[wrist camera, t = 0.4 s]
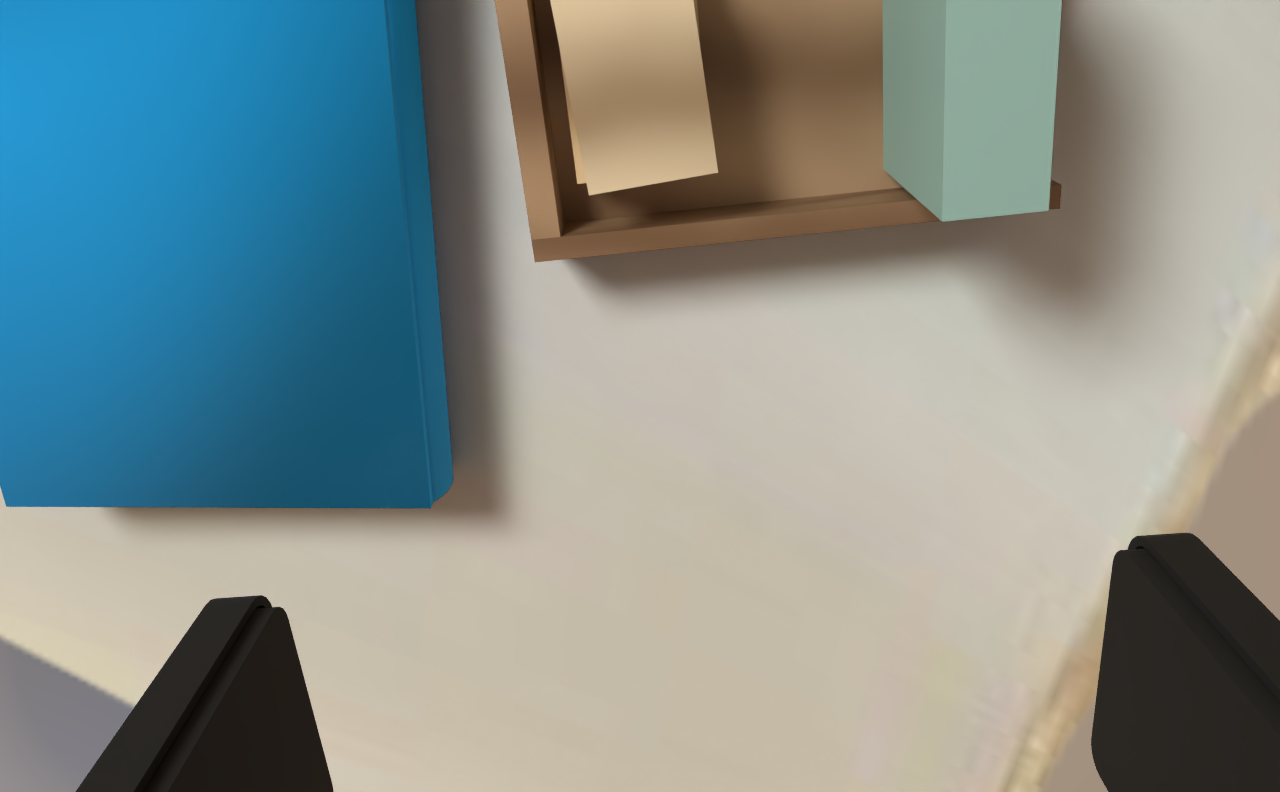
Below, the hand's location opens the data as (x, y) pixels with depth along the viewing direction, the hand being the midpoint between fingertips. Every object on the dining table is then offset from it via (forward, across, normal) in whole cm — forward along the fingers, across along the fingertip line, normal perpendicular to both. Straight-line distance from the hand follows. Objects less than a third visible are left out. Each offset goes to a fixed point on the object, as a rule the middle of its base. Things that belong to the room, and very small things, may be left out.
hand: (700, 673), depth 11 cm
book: (+28, +17, -2) cm, 33 cm away
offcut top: (+24, +1, -4) cm, 25 cm away
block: (+26, -9, -5) cm, 28 cm away
